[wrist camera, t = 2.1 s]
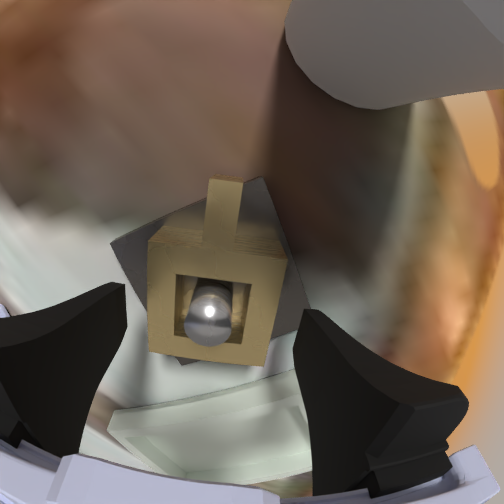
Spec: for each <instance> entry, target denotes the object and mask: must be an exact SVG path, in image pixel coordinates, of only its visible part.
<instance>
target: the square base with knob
mask: <svg viewBox="0 0 504 504" xmlns="http://www.w3.org/2000/svg"><path fill="white" fill-rule="evenodd" d="M206 202H207V198H204V199H202V200H200V201H197V202H195V203H193V204H190V205H188V206H186V207H183V208H181V209H179V210H177V211H174V212H172V213H170V214H168V215H165V216H163V217H161V218H159V219H156V220H154V221H152V222H150V223H148V224H146V225H143V226H141V227H139V228H137V229H135V230H133V231H131V232H129V233H127V234H125V235H123V236H120V237H118V238H116V239H115V240H114V241H112V242H111V243H110V245H111V247H112V249H113V251H114V253H115V255H116V257H117V259H118V261H119V262H120V264H121V266H122V268H123V270H124V272H125V274H126V276H127V278H128V279H129V281H130V283H131V285H132V287H133V288H134V290H135V292H136V294H137V296H138V297H139V299H140V301H141V302H142V304H143V306H144V308H145V309H146V311H147V258H148V240H149V239H150V238H151V237H152V236H153V235H154V234H155V233H156V232H157V231H158V230H159V229H160V228H161V227H162V226H163V225H164V226H172V227H179V228H187V229H195V230H203V228H204V219H205V211H206ZM236 235H240V236H247V237H255V238H262V239H269V240H276V241H280V243H281V245H282V247H283V250H284V252H285V254H286V256H287V259H288V261H287V266H286V271H285V275H284V280H283V285H282V289H281V294H280V298H279V303H278V307H277V312H276V316H275V321H274V325H273V329H272V334H271V338H274V337H277V336H280V335H283V334H286V333H288V332H291V331H294V330H297V329H298V328H299V325H300V321H301V317H302V314H303V310H304V309H311V308H310V305H309V302H308V300H307V297H306V294H305V291H304V288H303V285H302V282H301V279H300V276H299V273H298V271H297V268H296V265H295V262H294V259H293V257H292V254H291V251H290V248H289V245H288V243H287V240H286V237H285V234H284V232H283V229H282V226H281V223H280V221H279V218H278V215H277V213H276V210H275V207H274V205H273V202H272V199H271V197H270V194H269V192H268V189H267V186H266V184H265V181H264V179H263V177H262V176H260V177H257V178H254V179H252V180H249V181H247V182H244V183H243V188H242V194H241V201H240V208H239V215H238V221H237V228H236ZM245 289H246V283H241V282H233V281H225V280H217V279H210V278H202V277H195V276H188V275H185V279H184V295H183V309H188V311H187V315H186V318H185V322H184V329H185V332H186V334H187V336H188V337H189V338H190V339H191V340H192V341H193V342H195V343H197V344H199V345H202V346H208V347H212V346H217V345H220V344H222V343H224V342H225V341H226V340H227V339H228V338H229V336H230V334H231V329H232V315H235V316H241V314H242V307H243V301H244V295H245ZM271 338H270V339H271ZM175 357H176V358H177V360H178V361H179V363H180V364H181V365H185V364H189V363H193V362H197V361H200V360H198V359H191V358H184V357H178V356H175Z"/></svg>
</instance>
